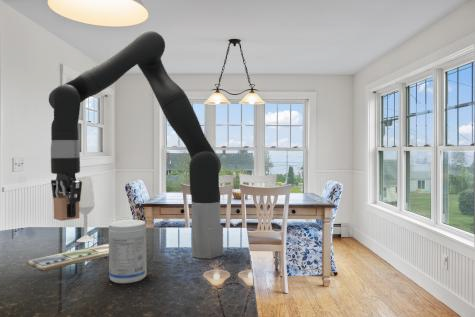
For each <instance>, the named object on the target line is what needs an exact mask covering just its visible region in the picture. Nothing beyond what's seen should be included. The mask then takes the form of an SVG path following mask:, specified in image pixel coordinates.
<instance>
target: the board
mask: <svg viewBox="0 0 475 317" xmlns="http://www.w3.org/2000/svg"><path fill="white" fill-rule="evenodd" d="M106 257H109V243H104V244H99V245H95V246H91V247H85V248H79V249H76V250H71V251H65V252H61V253H57V254H56V253H55V254H51V255H47V256H40V257H37V258H33V259H31V258H30V259H27V260H26V264H28V265H30V266H33V267H34V268H36V269H38V270H39V269H40V270H42V271H44V272H45V271H49V270H53V269H58V268H62V267H66V266H71V265H75V264H79V263H83V262H87V261H91V260H95V259H101V258H106Z"/></svg>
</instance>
